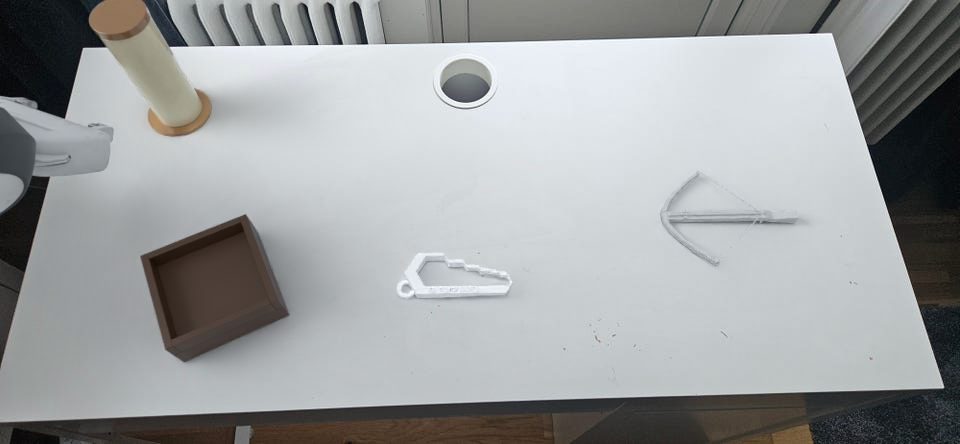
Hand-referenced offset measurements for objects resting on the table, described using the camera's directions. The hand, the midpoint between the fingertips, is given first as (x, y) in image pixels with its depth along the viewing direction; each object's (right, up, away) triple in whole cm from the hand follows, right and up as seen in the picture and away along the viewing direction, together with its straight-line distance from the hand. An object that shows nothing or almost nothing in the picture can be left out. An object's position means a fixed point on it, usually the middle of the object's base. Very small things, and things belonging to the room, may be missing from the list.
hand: (69, 119), depth 63 cm
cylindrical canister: (+4, +4, +16) cm, 17 cm away
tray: (+15, -19, +4) cm, 24 cm away
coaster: (+4, +4, +16) cm, 17 cm away
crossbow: (+74, -11, +10) cm, 75 cm away
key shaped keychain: (+41, -17, +5) cm, 44 cm away
